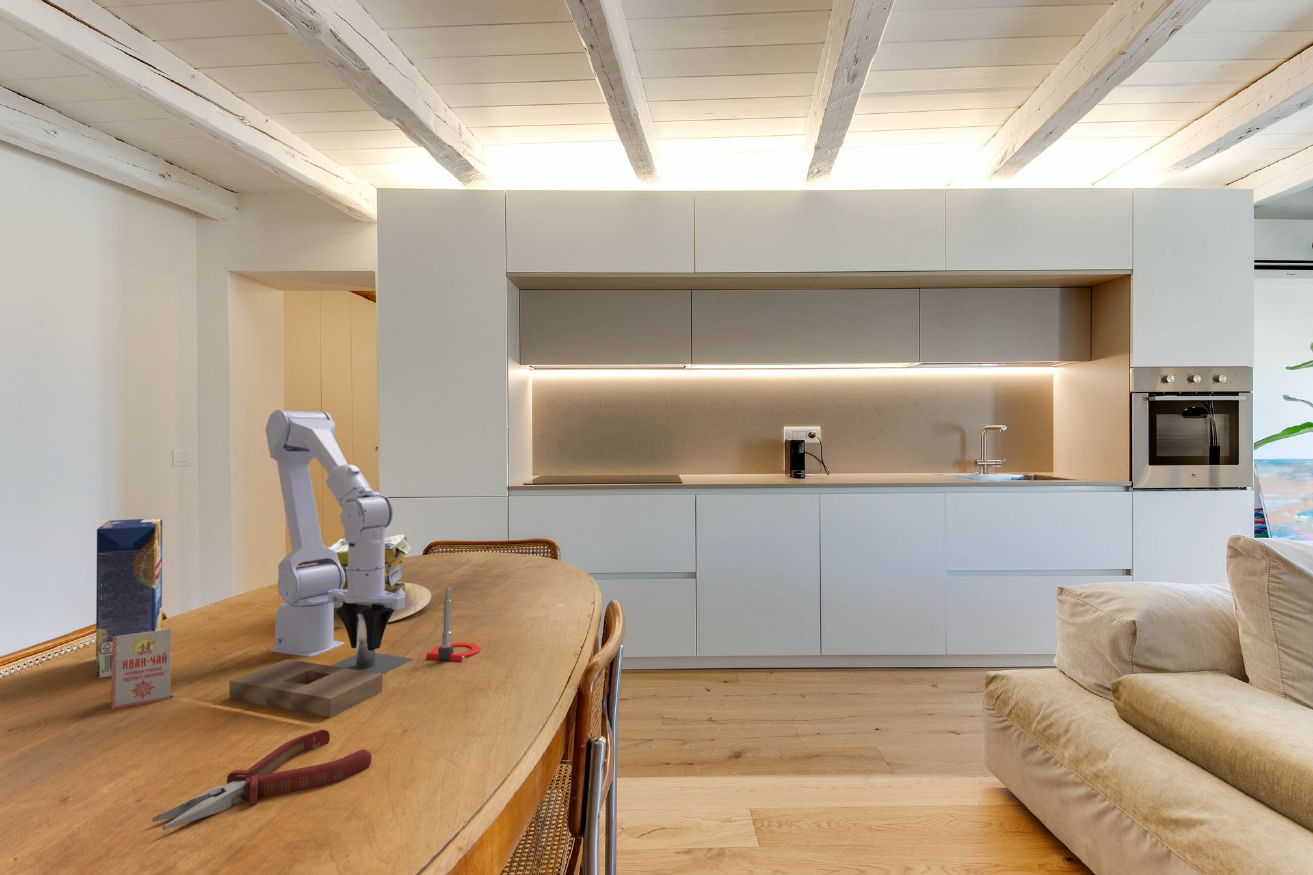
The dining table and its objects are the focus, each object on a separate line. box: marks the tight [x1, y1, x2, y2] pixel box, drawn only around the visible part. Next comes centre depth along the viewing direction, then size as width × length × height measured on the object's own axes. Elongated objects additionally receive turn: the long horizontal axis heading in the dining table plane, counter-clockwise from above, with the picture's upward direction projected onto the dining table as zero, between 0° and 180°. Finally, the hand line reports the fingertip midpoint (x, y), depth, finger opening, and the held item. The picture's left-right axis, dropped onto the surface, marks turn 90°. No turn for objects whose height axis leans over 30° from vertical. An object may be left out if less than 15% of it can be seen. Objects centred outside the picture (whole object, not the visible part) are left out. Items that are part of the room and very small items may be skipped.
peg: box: [355, 611, 376, 668], centre depth 111 cm, size 3×3×9 cm
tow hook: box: [425, 587, 481, 663], centre depth 119 cm, size 8×13×9 cm
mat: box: [329, 652, 414, 675], centre depth 111 cm, size 11×11×1 cm
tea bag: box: [110, 628, 172, 710], centre depth 97 cm, size 4×7×10 cm, turn 126°
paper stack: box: [327, 534, 432, 628], centre depth 147 cm, size 25×25×17 cm
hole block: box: [228, 659, 383, 719], centre depth 99 cm, size 19×10×3 cm, turn 71°
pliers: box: [152, 729, 373, 831], centre depth 74 cm, size 12×20×3 cm, turn 146°
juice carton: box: [95, 517, 163, 679], centre depth 113 cm, size 12×8×24 cm, turn 32°
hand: (365, 647), depth 111 cm, fingers closed on peg, 3 cm apart
